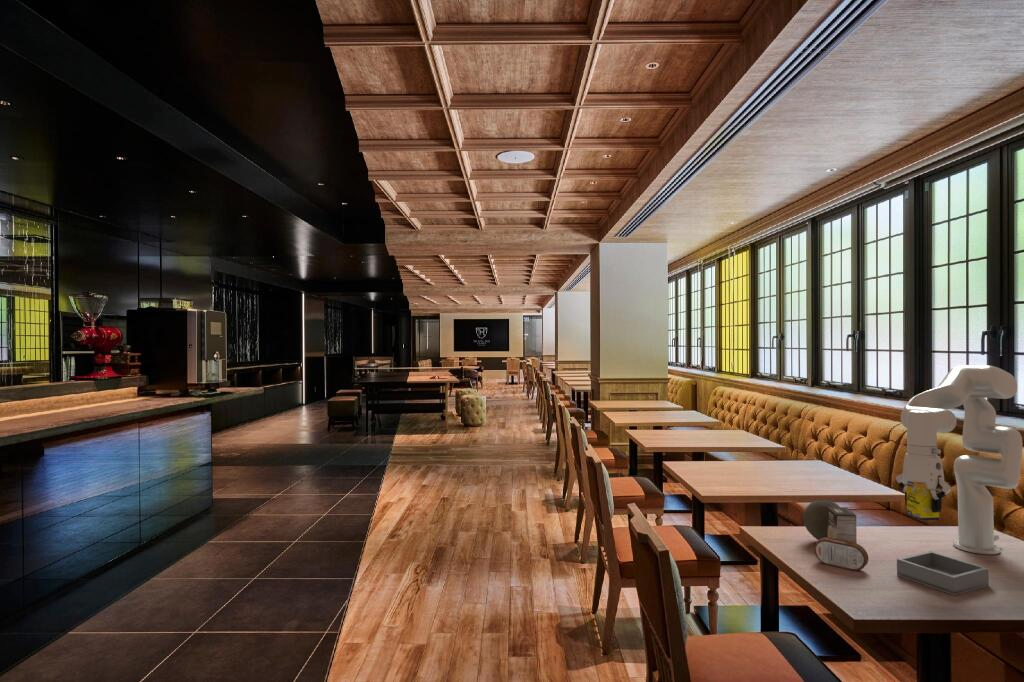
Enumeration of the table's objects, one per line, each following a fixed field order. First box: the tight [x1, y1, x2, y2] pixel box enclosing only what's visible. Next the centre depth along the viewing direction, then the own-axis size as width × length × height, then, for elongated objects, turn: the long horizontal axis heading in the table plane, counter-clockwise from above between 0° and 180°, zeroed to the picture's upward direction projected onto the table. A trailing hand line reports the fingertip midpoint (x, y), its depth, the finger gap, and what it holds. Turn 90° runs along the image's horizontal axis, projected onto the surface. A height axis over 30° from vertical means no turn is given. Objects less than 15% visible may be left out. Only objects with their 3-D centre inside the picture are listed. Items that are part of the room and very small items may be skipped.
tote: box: [896, 550, 990, 596], centre depth 174 cm, size 16×16×5 cm
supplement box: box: [906, 481, 940, 521], centre depth 180 cm, size 6×6×11 cm
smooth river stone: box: [802, 499, 841, 541], centre depth 208 cm, size 14×14×15 cm
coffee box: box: [827, 506, 858, 544], centre depth 192 cm, size 9×6×16 cm
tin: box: [813, 537, 869, 572], centre depth 186 cm, size 15×3×8 cm, turn 47°
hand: (922, 508), depth 180 cm, fingers closed on supplement box, 7 cm apart
